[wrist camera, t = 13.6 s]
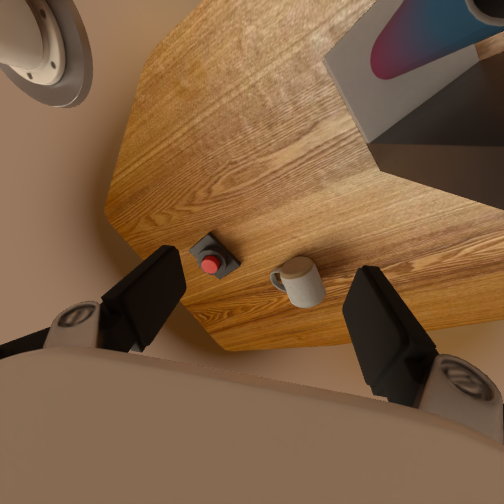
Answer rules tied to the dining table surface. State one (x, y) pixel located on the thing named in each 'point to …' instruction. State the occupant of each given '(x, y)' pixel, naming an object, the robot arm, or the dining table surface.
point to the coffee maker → (426, 112)
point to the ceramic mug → (300, 282)
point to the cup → (432, 32)
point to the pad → (215, 248)
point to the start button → (210, 264)
